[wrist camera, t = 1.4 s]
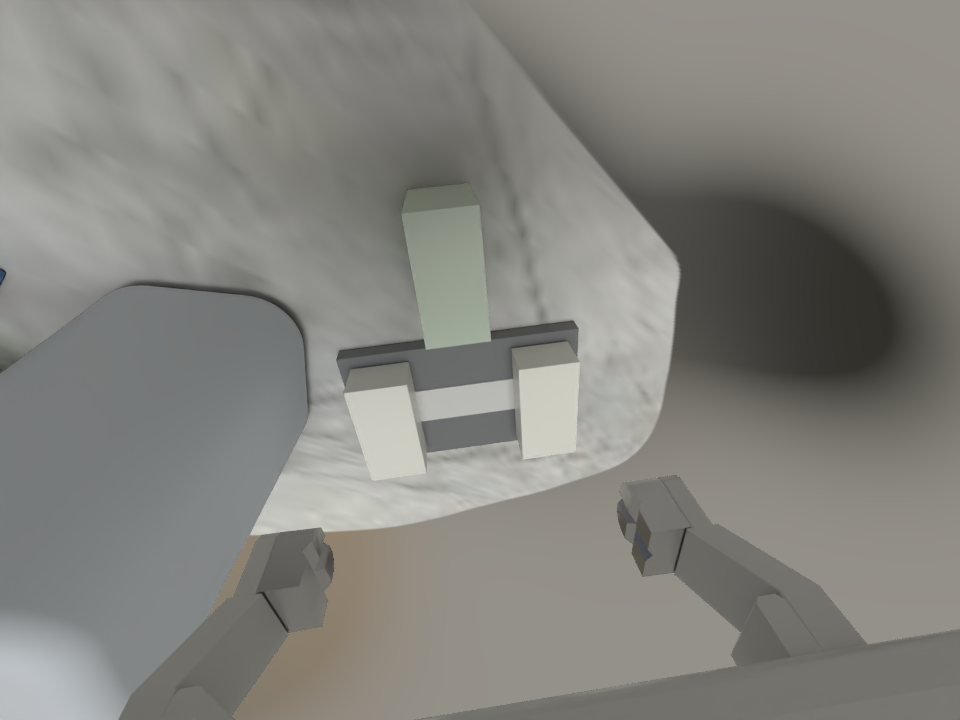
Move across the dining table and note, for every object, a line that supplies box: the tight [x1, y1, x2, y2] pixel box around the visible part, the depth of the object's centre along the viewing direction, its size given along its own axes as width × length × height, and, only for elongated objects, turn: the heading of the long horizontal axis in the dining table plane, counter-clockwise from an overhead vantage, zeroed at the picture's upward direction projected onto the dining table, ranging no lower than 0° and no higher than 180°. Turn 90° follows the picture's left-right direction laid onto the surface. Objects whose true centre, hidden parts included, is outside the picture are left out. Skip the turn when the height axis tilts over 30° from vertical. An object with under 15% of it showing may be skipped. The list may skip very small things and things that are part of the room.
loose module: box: [401, 183, 491, 350], centre depth 29 cm, size 9×4×8 cm, turn 5°
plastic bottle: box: [0, 285, 308, 720], centre depth 24 cm, size 15×15×28 cm
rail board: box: [336, 321, 580, 481], centre depth 38 cm, size 12×21×5 cm, turn 95°
